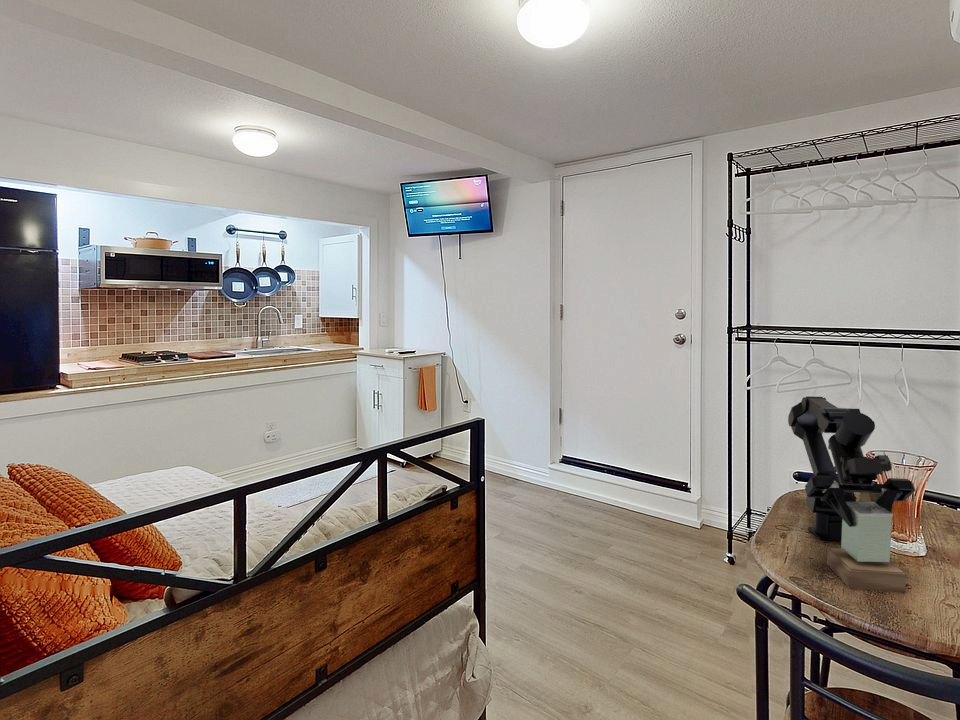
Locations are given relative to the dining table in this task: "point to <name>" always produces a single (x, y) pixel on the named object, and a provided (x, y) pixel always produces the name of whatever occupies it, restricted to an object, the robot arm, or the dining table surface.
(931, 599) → the dining table surface
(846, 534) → the tea tin
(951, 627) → the dining table surface
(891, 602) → the dining table surface
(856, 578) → the walnut box
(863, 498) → the rock
